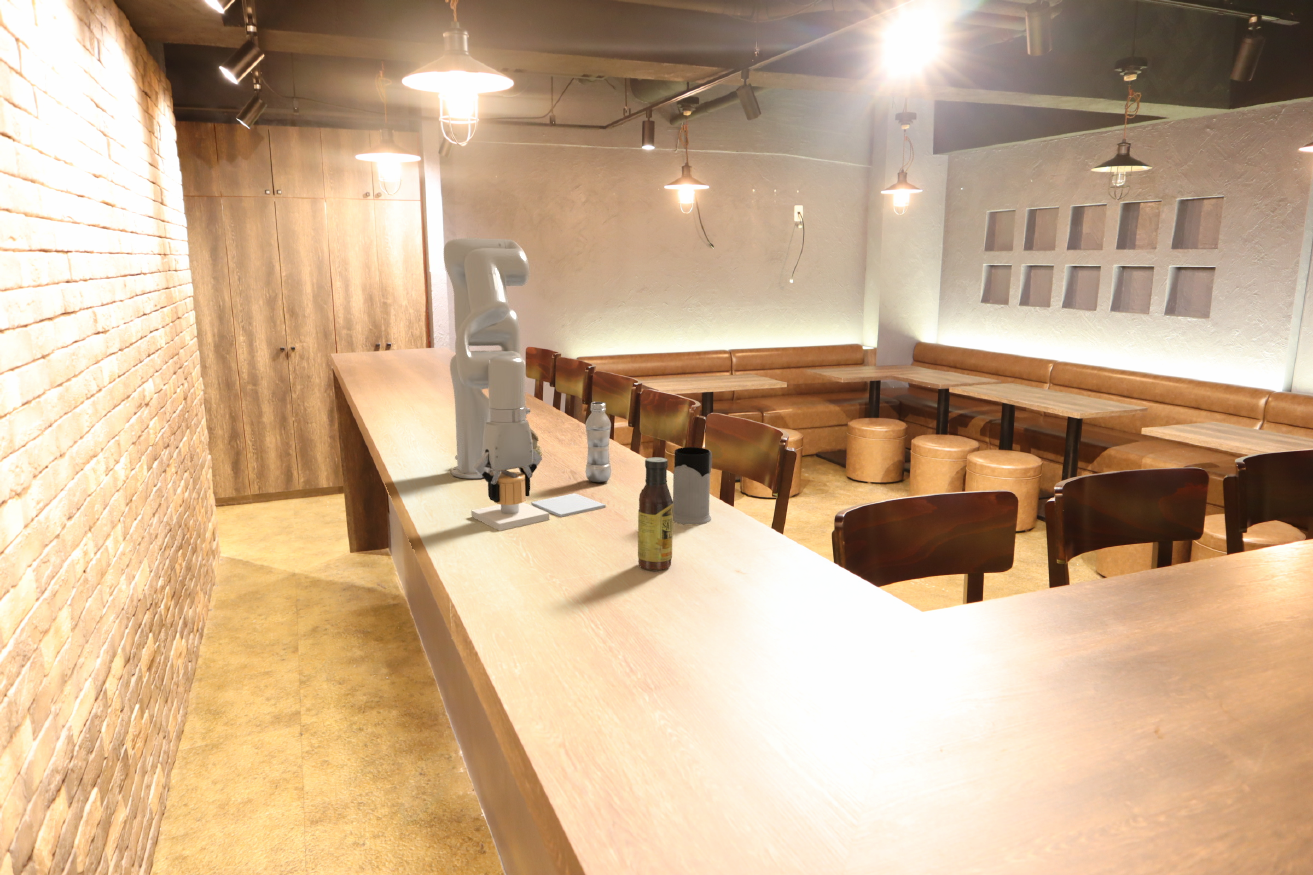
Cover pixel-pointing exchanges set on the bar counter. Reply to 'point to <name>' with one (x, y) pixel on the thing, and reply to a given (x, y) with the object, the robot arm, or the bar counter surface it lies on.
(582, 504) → the mat
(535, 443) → the ceramic model
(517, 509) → the post block
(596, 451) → the plastic bottle
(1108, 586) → the bar counter surface
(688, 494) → the glass holder
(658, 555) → the sauce bottle
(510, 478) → the knob
